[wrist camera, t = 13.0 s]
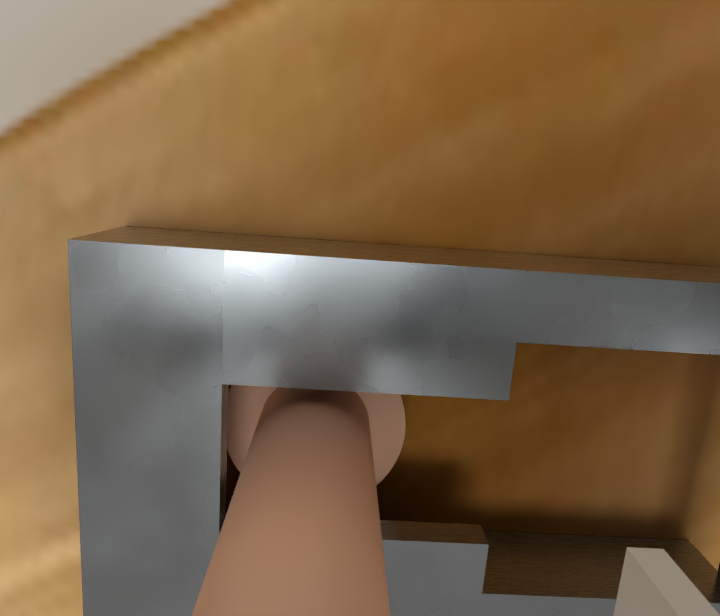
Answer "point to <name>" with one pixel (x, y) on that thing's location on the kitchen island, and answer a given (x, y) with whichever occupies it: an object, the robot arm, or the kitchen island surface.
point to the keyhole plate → (339, 373)
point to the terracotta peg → (304, 504)
